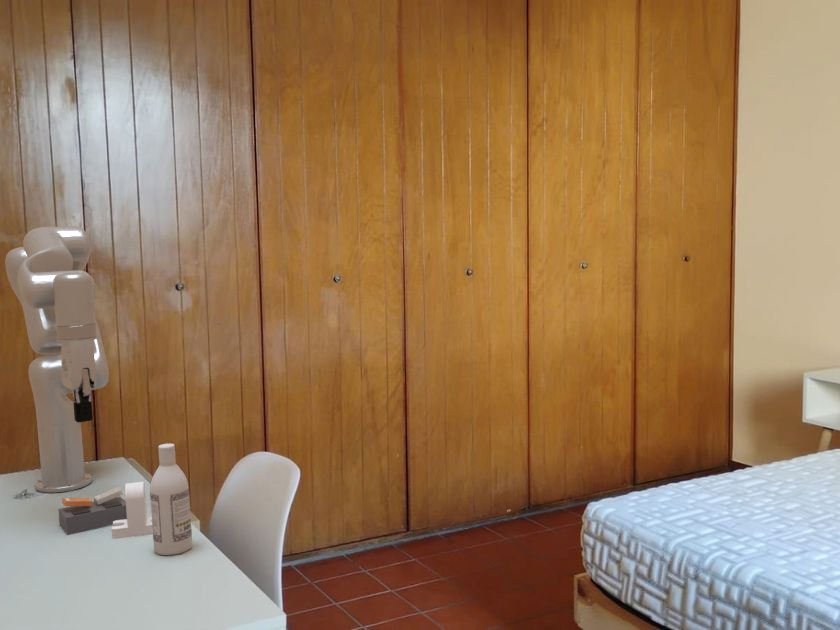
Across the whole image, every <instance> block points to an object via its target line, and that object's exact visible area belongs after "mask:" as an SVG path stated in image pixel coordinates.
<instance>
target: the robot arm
mask: <svg viewBox="0 0 840 630" xmlns="http://www.w3.org/2000/svg"><path fill="white" fill-rule="evenodd" d="M22 245H23V246H20V247H19V246H18V247H15V248H13V249H11V250H9V252H8V253H6V256H5V259H4V260H5V271H6V276H7V279H8V282H9V285H10V287H11V289H12V291H13V292H14V294H15V296H16V297H17V299H18V301H19V304H20V305H21V307H22V310H23V311H22V312H23V315H24V321H25V322H24V323H25V326H26V331H27V337H28V342H29V344H30V345H29V346H30V347H31V349H32V351H33V352H35V353H36V354H38V355H41V356H39V357H37V358H35V359H34V360H32V361H31V363H29V366H28V379H29V383H30V384H29V385H30V387H31V391H32V395H33V400H34V406H35V413H36V415H35V416H36V427H37V437H38V450H39V461H40V473H41V479H40V480H37V482H35V484H34V486H35V487H34V489H35V490H36V491H38V492H40V493H61V492H62V493H63V492H69V491H74V490H78V489H81V488H83V487H86V486H88V485H89V484H91V483H92V481H93V476H92V475H91V474H89V473H86V472H85V471H86V470H85V460H84V459H85V458H84V447H83V435H82V434H83V433H82V423H85V422H91V421H93V419H94V416H93V405H92V391H94V390H95V391H96V390H98V389H99V390H100V389H102V388H104V387H105V386H107V384H108V383H109V379H110V378H109V377H110V372H109V370H110V369H109V365H108V361H107V356H106V352H105V348H104V344H103V339H102V336H101V330H100V327H99V324H98V321H97V319H96V308H95V295H96V285H95V280H94V277H92V275H90V274H89V273H88V272H87V271H85V269H86V266H87V265H88V262H89V259H90V257H91V253H92V244H91V238H90V236H89V234H88V233H87V231H86V230H85V229H83V228H82V227H81V226H75V225H74V226H73V225H72V226H71V225H70V226H68V225H67V226H42V227H41V226H40V227H35V228H33V229H31V230H29V231H28V232H26V234H25V235H24V238H23V242H22ZM70 394H72V400H73V401H72V400H71V399H70V398H69V397H68V396H67V395H70Z"/></svg>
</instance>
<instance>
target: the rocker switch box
mask: <svg viewBox="0 0 840 630" xmlns="http://www.w3.org/2000/svg"><path fill="white" fill-rule="evenodd" d="M57 512H58V522H59V526H60V527H61V529H62V530H63V531H64V533H65V534H66V535H67V536H68V535H74V534H79V533H82V532H87V531H90V530H96V529H101V528H105V527H108V526H113V521H116V520H124V519H127V512H126V499H124V498H123V497H121V495H120V496H118V497H115V498H113V499H111V500H108V501H106V502H103V503H101V504H99V505H98V504H97V503H96V502H95V501H92V506H64V507H62V508H61V507H60V508H58V510H57Z"/></svg>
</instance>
